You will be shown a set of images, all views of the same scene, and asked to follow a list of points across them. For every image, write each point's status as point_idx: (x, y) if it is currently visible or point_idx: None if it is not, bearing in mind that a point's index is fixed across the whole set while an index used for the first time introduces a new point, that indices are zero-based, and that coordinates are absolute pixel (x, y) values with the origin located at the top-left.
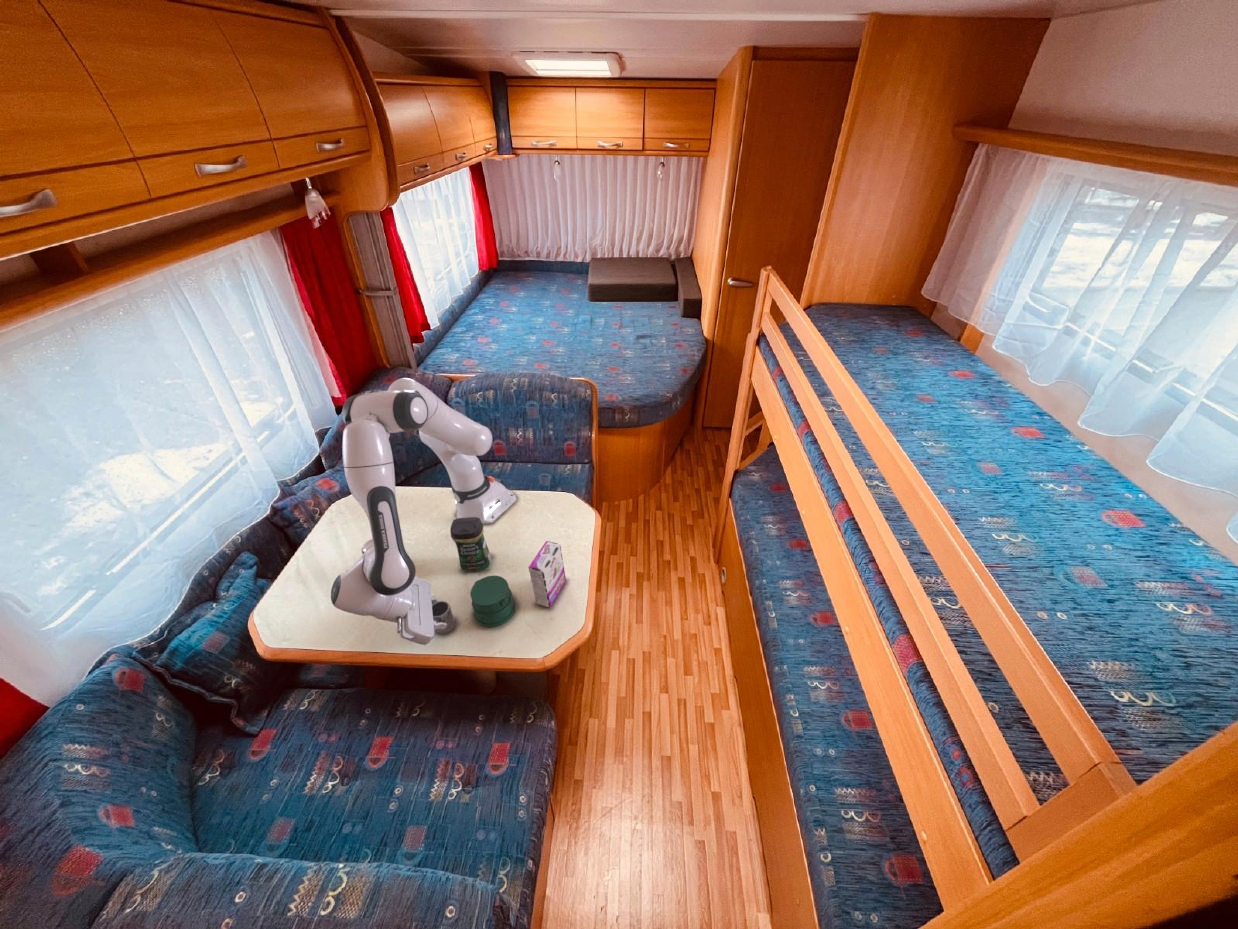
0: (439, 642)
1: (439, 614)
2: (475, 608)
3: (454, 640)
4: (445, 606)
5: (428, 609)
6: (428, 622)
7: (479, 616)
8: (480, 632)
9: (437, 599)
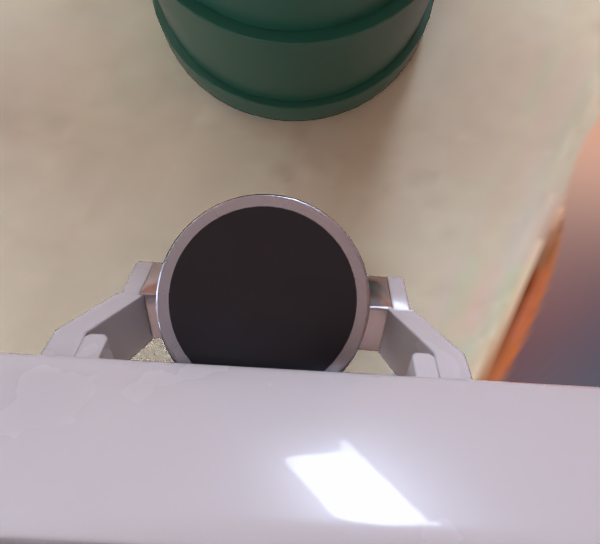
0: (388, 367)
1: (345, 305)
2: (352, 12)
3: (415, 273)
4: (262, 231)
5: (300, 414)
6: (530, 439)
7: (389, 37)
8: (425, 111)
9: (98, 305)
